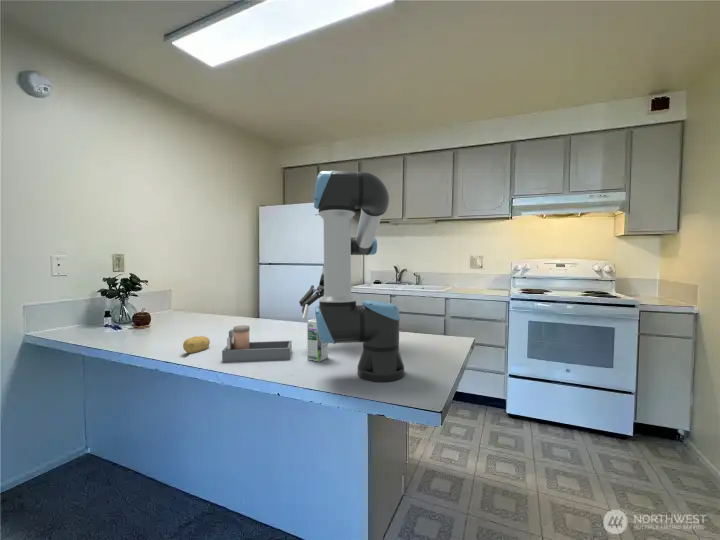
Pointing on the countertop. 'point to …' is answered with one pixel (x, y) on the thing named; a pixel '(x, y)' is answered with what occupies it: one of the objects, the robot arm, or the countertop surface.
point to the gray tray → (259, 352)
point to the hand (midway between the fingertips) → (321, 320)
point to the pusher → (230, 340)
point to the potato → (196, 344)
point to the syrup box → (315, 343)
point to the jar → (241, 337)
